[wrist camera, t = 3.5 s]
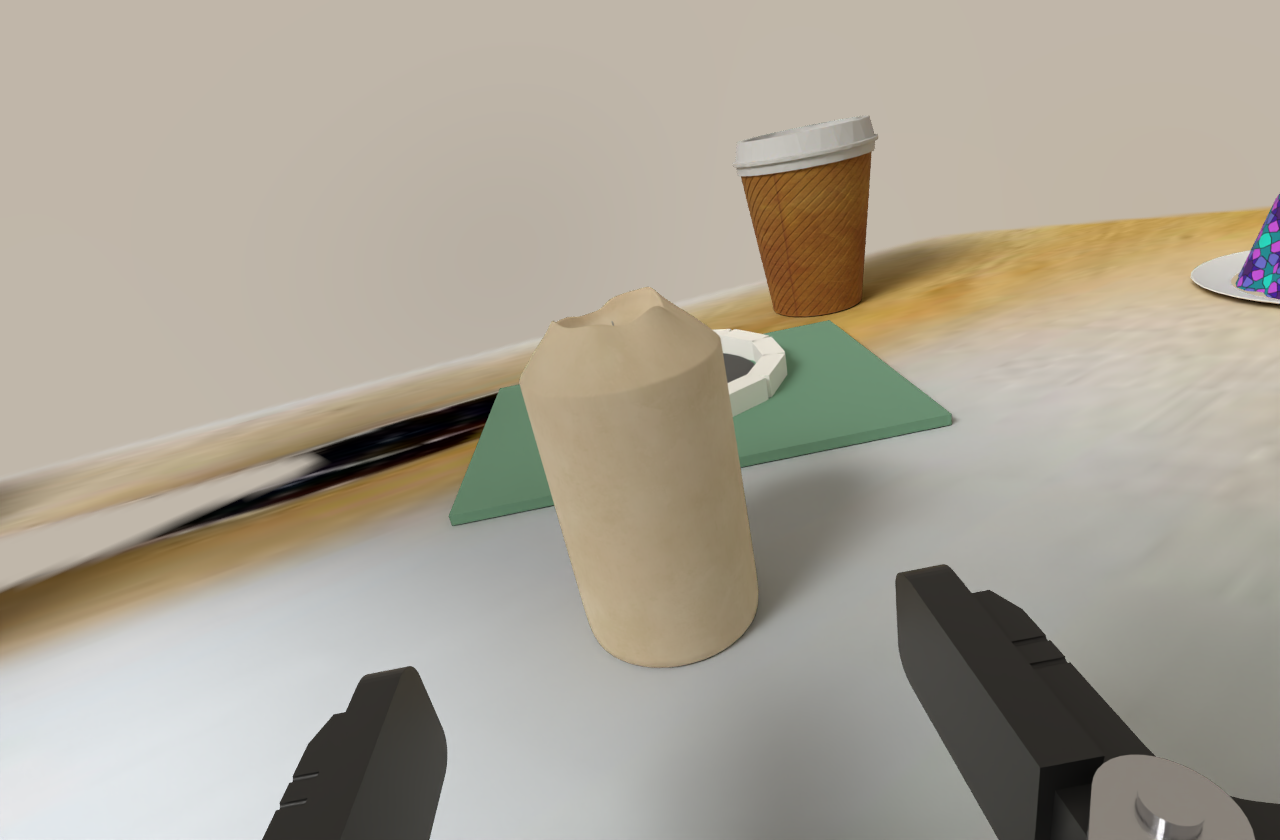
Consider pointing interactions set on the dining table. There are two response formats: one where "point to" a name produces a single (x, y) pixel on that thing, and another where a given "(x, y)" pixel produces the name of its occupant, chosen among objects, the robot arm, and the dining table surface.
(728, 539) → the candle
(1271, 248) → the pudding
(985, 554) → the dining table surface
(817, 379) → the putting green
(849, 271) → the disposable coffee cup
